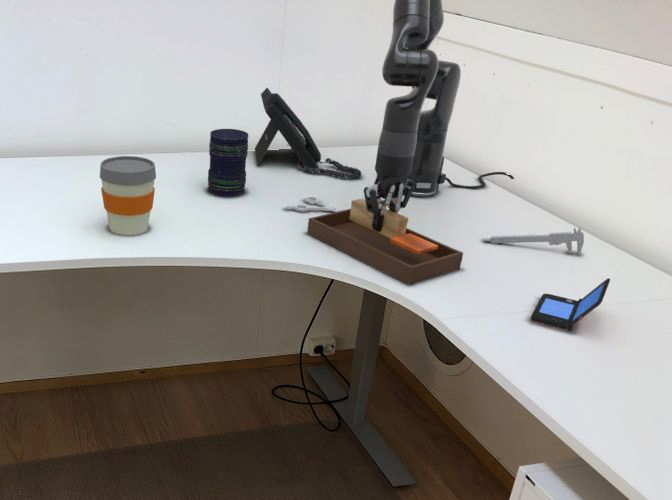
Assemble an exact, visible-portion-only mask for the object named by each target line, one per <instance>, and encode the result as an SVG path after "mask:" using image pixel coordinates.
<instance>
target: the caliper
mask: <svg viewBox="0 0 672 500" xmlns="http://www.w3.org/2000/svg"><path fill="white" fill-rule="evenodd" d="M584 235H585V233H584V231H582V228H581V227H579V228H578V229H576V227H573V233H572V231H560V232H559V231H558V232H556V231H555V232H549V234H519V235H518V234H517V235H515V234H514V235H491V236H490V237H486V238H484V242H490V244H517V243H518V244H520V243H521V244H522V243H548V245H549V246H554V245H555V246H559V245H562V244H565V246H566V248H567V252H568V254H569V255H572V251H573V242H576V245H577V246H576V249H577V251H576V254H577V255H580V254H581V252H582V249H583V246H584V244H585V243H584V242H585V236H584Z"/></svg>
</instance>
